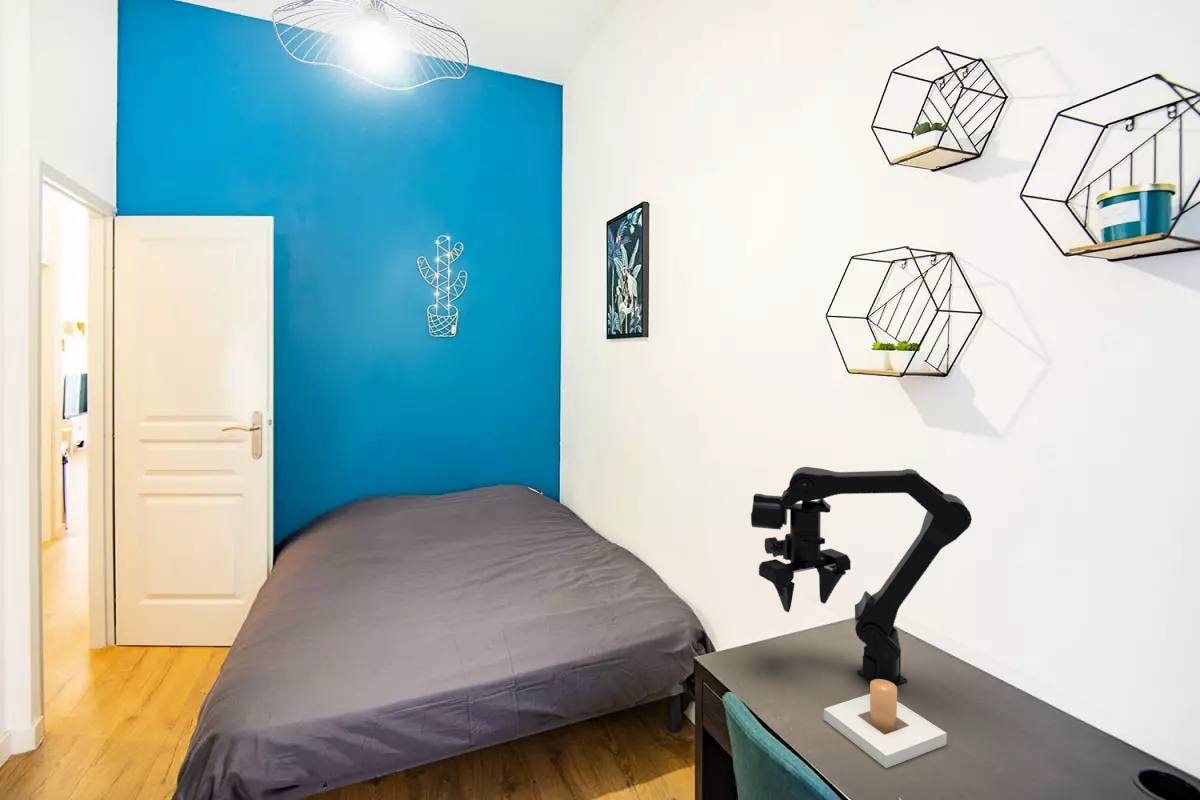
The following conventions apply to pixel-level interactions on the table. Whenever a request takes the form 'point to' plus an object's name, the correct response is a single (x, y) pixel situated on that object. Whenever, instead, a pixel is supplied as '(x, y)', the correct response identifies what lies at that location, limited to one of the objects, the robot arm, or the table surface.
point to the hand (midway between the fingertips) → (805, 607)
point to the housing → (890, 747)
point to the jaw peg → (883, 705)
